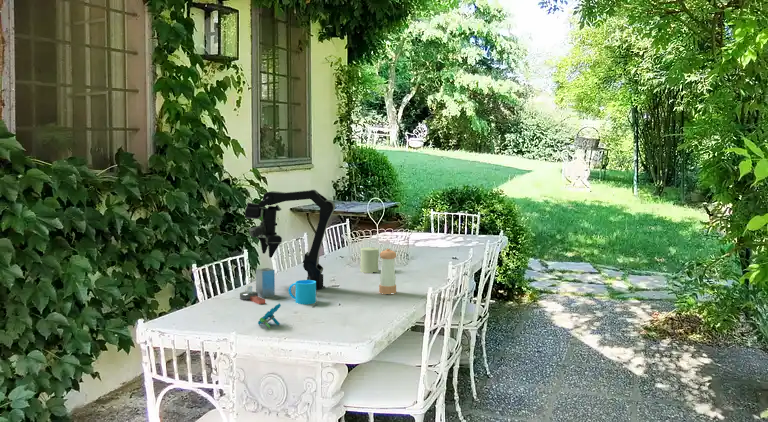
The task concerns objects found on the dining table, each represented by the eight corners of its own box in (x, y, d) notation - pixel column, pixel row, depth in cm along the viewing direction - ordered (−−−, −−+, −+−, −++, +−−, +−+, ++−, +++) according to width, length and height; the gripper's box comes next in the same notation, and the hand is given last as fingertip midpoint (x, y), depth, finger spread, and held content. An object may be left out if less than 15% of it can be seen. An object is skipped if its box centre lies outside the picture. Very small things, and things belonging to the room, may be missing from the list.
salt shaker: (398, 292, 277) (399, 248, 275) (391, 295, 270) (392, 250, 269) (383, 290, 280) (384, 246, 278) (376, 293, 274) (376, 249, 272)
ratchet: (252, 295, 268) (252, 283, 268) (270, 302, 256) (270, 290, 256) (236, 297, 264) (236, 285, 263) (254, 305, 252) (253, 292, 251)
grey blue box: (268, 293, 272) (267, 267, 271) (274, 296, 267) (274, 270, 266) (256, 295, 268) (255, 269, 267) (262, 298, 264) (262, 271, 263)
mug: (319, 300, 261) (319, 280, 260) (309, 305, 253) (309, 284, 252) (293, 297, 265) (293, 278, 264) (283, 302, 258) (283, 282, 257)
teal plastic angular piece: (267, 315, 232) (282, 298, 227) (278, 327, 231) (294, 310, 227) (249, 326, 222) (265, 309, 218) (261, 339, 221) (277, 322, 217)
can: (382, 271, 323) (382, 247, 322) (371, 274, 315) (372, 249, 314) (366, 269, 328) (367, 245, 327) (356, 271, 320) (356, 248, 319)
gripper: (245, 216, 285) (243, 251, 287) (257, 223, 269) (255, 259, 271) (269, 217, 291) (267, 251, 292) (283, 223, 274) (281, 259, 276)
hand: (267, 255), depth 283 cm, fingers open, 9 cm apart
